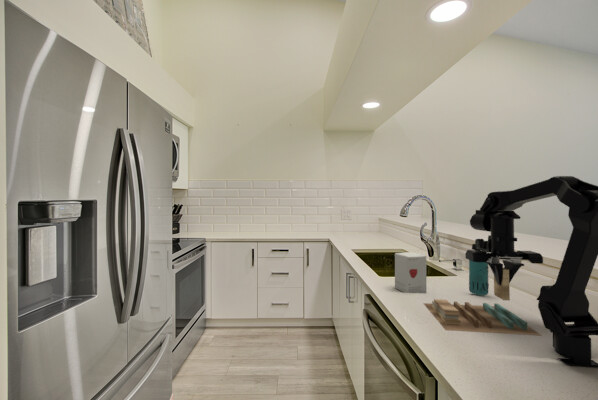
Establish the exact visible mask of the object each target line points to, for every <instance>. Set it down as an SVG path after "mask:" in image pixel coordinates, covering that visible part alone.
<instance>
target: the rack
mask: <svg viewBox="0 0 598 400" xmlns="http://www.w3.org/2000/svg"><path fill="white" fill-rule="evenodd" d="M451 304H452V303H451ZM423 305H424V306H425V307H426V309H427V310H428V311H429V312H430V313H431V314H432V316H433V317H434V319H435V320H436V321H437V322H439V324H440V325H441V326H442V328H443V329H444V330H445V331H456V332H457V331H458V332H469V333H471V332H472V333H487V334H488V333H490V334H491V333H492V334H509V335H512V334H513V335H524V336H526V335H527V336H543V334H541V333H540V332H539V331H538V330H537V331H536V329H533V328H532V327H530V326H529V325H528V322H527V321H526V320H525V319H523V318H521V317H520V316H518V315H516V314H515V313H513V312H511V311H510V310H508V309H507V308H506V307H504V306H502V305H501V304H499V303H497V302H496V303H494V305H493V306H492V305H490V304H489V303H487V302H483V303H482V305H473V304H471V303H470V302H468V301H466V302H464V304H460V303H458V301H453V304H452V305H453V306H454V307H455V308H456V309H457V310H458V311H459V315H458V318H459V319H460V320H461V325H458V324H445V322H444V321H443V320H442V319H441V318H440V317H439V316H438V314H437V313H436V312H435V311H434V310H433V309H432V303H428V302H427V303H424V302H423Z"/></svg>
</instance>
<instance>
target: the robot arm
mask: <svg viewBox="0 0 598 400" xmlns="http://www.w3.org/2000/svg"><path fill="white" fill-rule="evenodd" d="M554 196H555V197H557V199H558V201H559V202H560V203H562V204H563V205H565V207H568V214H567V215H568V216H567V217H568V219H569V221H570V223H571V226H572V231H571V234H570V236H569V241H568V242H567V246H566V249H565V253H564V255H563V259H562V262H561V264H560V268H559V271H558V275H557V277H556V279H555V280H556V281H555V282H554V284H552V285H542V286H540V289H539V295H538V297H537V298H536V301H538V302H537V309H538V310H539V313H540V317H541V319H542V323H543V326H544V329H546V330H549V331H550V333H551V334H552V347H553V348H554V352H555V353H556V354H558V355H559V356H561V357H563V358H560V357H558V358H557V359H558V360H560V361H561V362H563V363H564V364H565V365H567V366H577V367H590V368H591V367H593V368H594V367H595V368H598V362H596V361H595V360H593V359H592V338H591V337H590V336H598V321H597V320H596V319H595V318H594V316H593V315H592V313H590V311H589V310H590V301H589V299H588V297H587V295H586V289H587V286H588V283H589V280H590V278H591V276H592V272H593V269H594V267H595V264H596V261H597V259H598V185H596V184H593V183H589V182H587V181H583V180H582V179H579V178H578V177H575V176H571V175H556V176H552V177H550V178H549V179H545V180H542V181H539V182H535V183H533V184H532V183H531V184H529V185H526V186H523V187H519V188H516V189H512V190H502V191H501V190H500V191H491V192H489V193H488V194H487V197H486V198H485V200H484V202H483V203H482V205H481V207H480V208H479V209H475V213H474V214H473V215H472V216H471V217H470V219H469V225H470V226H471V228H472V229H474V230H476V231H481V232H482V231H483V232H490V234H489V235H488V237H487V240H484V238H476V239H475V241H474V244H475V247H476V249H482V250H473V249H467V250H466V251H465V260H468V261H469V260H471V261H473V262H485V263H487V264H488V266H489V268H490V269H491V271H492V273H493V277H494V276H495V279H496V281H497V284H498V285H501V283H502V273H503V268H505V269H508V270H509V284H510V283H511V281H512V280H513V278H514V277H515V276H516V274H517V272H518V271H519V270H520V268H521V267H525V264H524V263H522V261H528V262H529V263H531V264H539V265H540V264H544V256H543V255H542V254H541V253H539V252H535V251H532V250H516V251H515V242H518V237H515V220H520V219H521V216H520V215H518V214H517V213H516V212H515V210H518V209H520V208H522V207H523V206H524V205H525V204H526V203H527V204H528V203H530V202H534V201H539V200H543V199H546V198H551V197H554ZM500 261H502V263H501V262H500Z"/></svg>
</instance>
